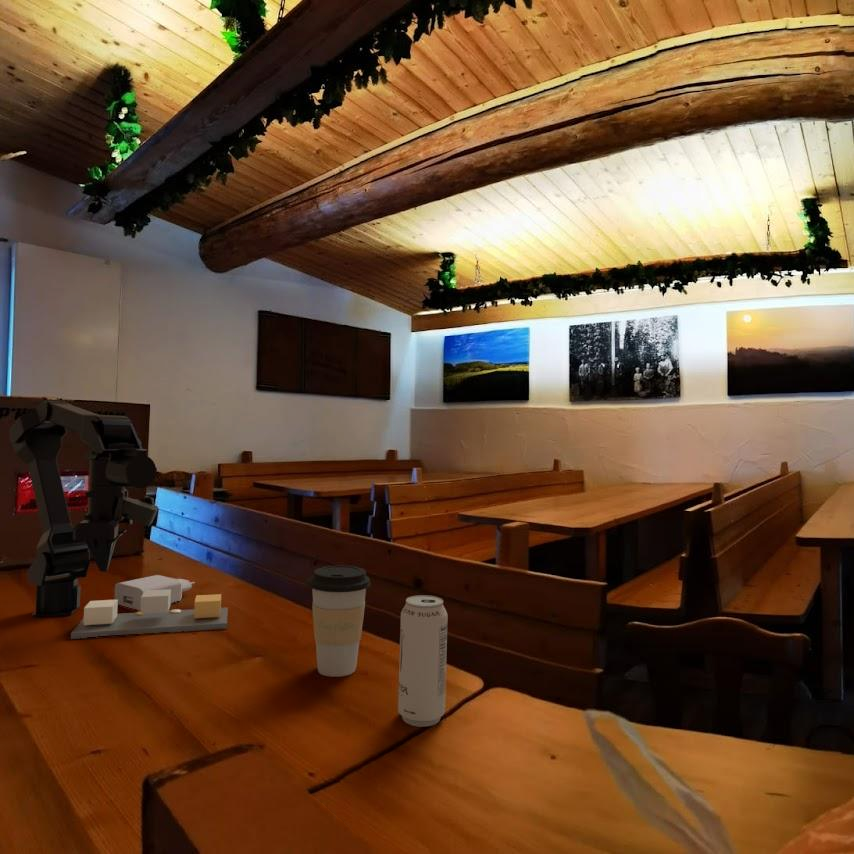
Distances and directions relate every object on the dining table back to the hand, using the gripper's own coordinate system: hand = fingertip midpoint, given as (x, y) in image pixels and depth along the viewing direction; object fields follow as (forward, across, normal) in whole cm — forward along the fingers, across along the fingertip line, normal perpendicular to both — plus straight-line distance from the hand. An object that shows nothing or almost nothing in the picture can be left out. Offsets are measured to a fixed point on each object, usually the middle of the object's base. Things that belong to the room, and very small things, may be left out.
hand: (103, 571), depth 107 cm
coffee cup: (+10, -28, -38) cm, 49 cm away
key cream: (+9, -1, 0) cm, 9 cm away
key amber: (+9, 0, -18) cm, 20 cm away
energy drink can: (+10, -46, -46) cm, 66 cm away
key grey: (+7, -1, -9) cm, 11 cm away
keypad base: (+10, -1, -9) cm, 13 cm away
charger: (+10, +16, -8) cm, 21 cm away
